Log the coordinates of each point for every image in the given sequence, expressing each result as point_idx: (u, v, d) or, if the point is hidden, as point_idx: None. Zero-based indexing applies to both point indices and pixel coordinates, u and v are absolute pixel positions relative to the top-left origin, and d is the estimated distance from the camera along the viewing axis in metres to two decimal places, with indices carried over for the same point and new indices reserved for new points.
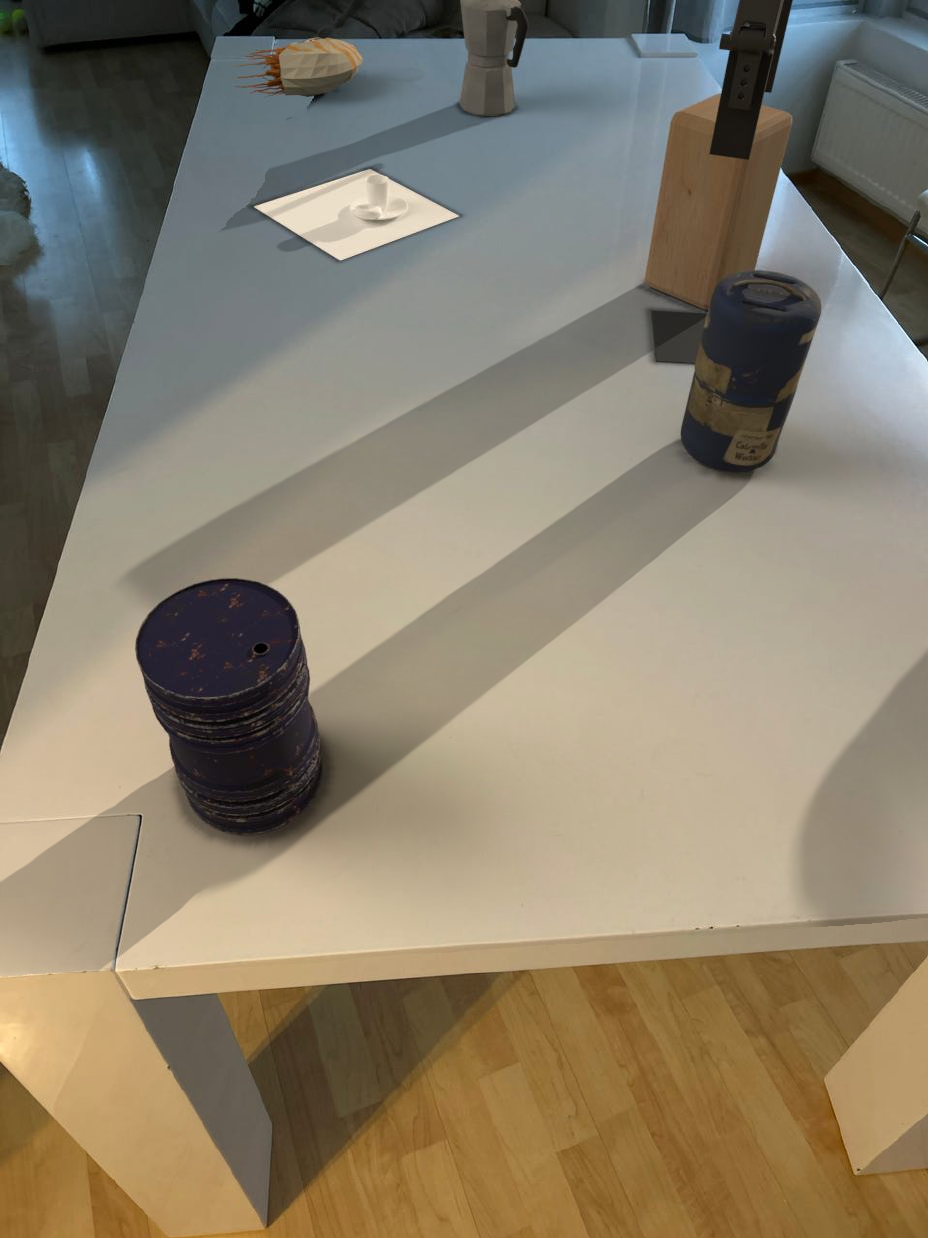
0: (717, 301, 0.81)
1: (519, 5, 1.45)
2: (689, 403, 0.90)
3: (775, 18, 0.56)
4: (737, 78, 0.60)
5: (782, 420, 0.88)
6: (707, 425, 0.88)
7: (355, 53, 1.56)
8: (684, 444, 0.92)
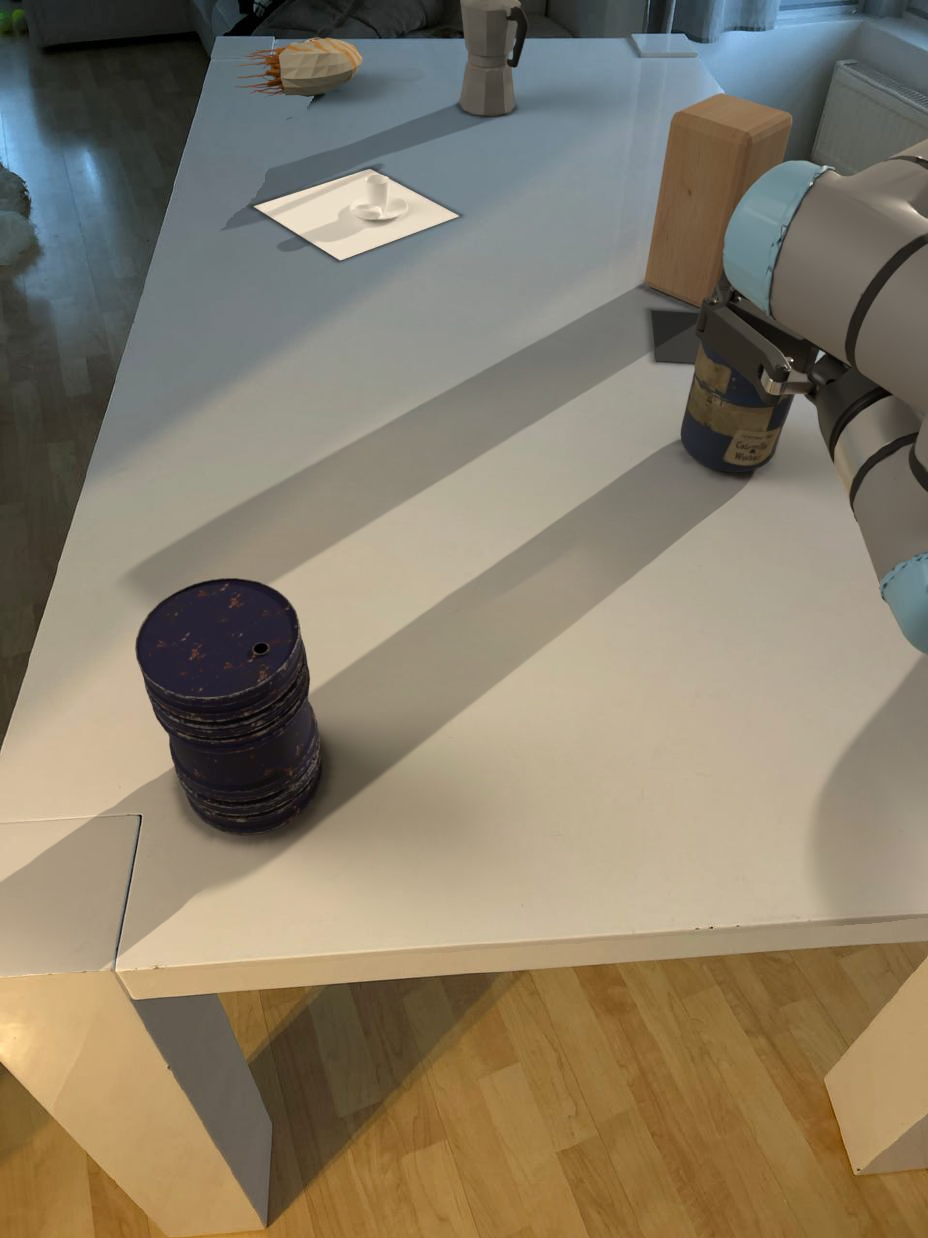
0: None
1: (519, 5, 1.45)
2: (689, 403, 0.90)
3: None
4: None
5: (782, 420, 0.88)
6: (707, 425, 0.88)
7: (355, 53, 1.56)
8: (684, 444, 0.92)
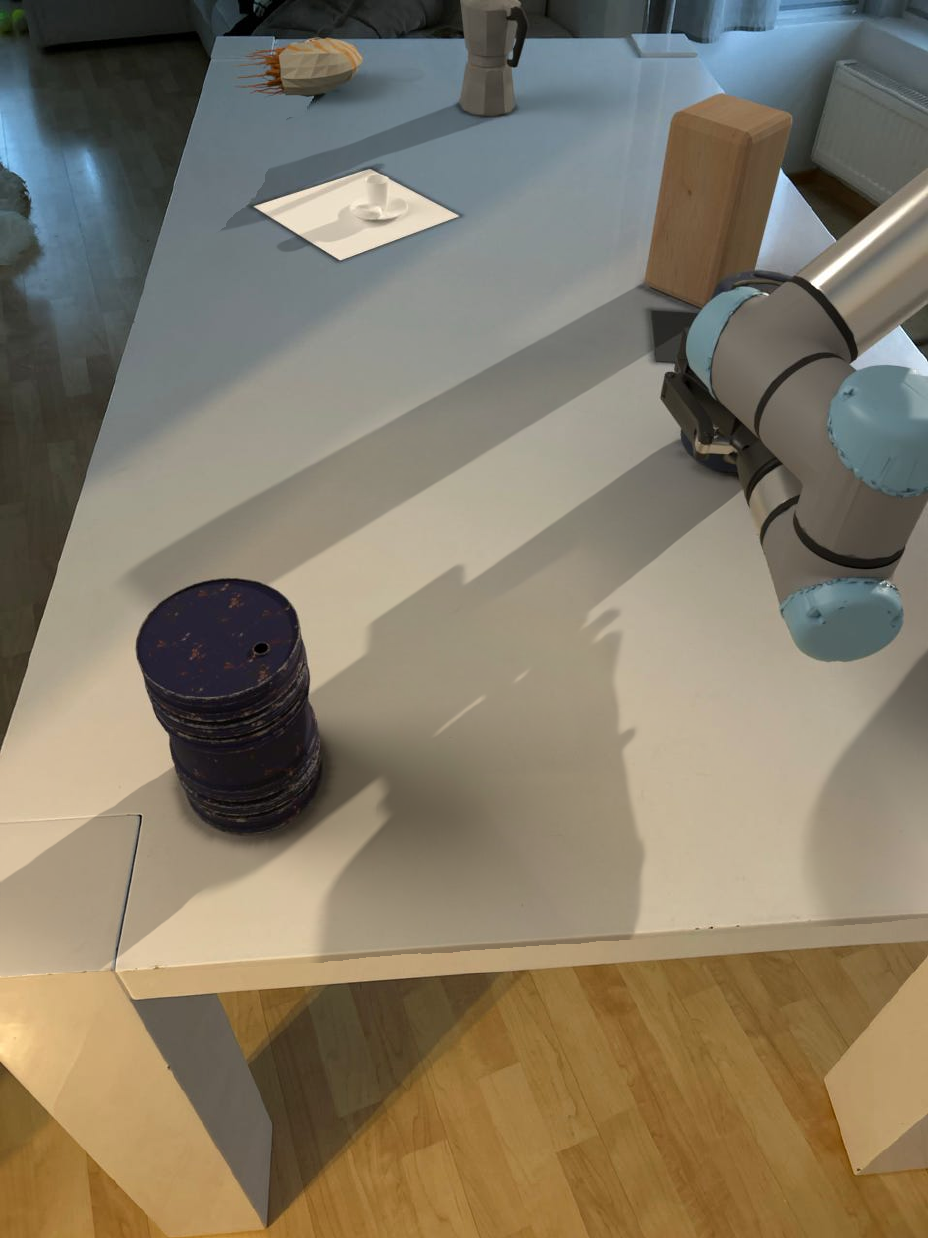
0: None
1: (519, 5, 1.45)
2: None
3: None
4: None
5: None
6: None
7: (355, 53, 1.56)
8: (684, 444, 0.92)
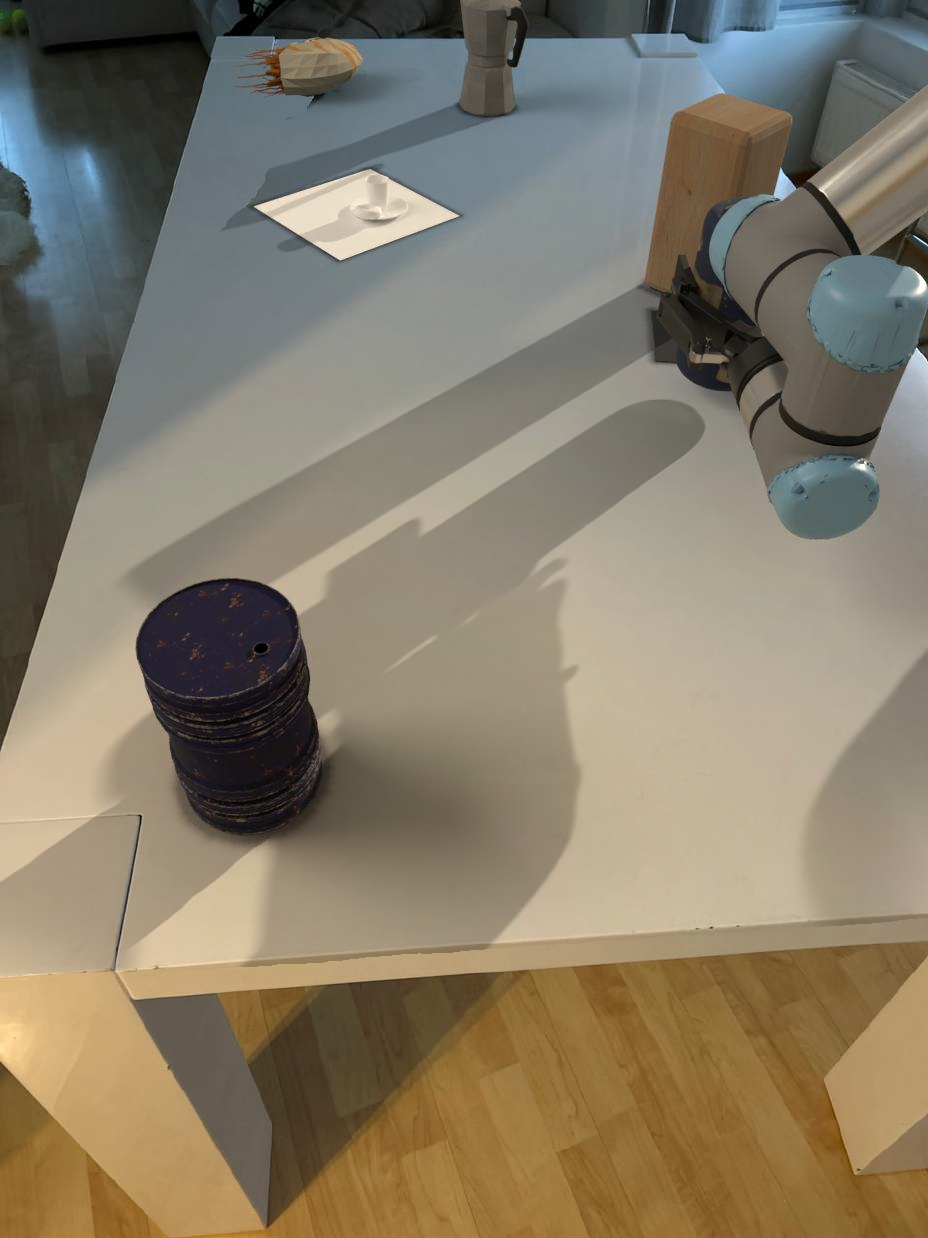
0: (709, 223, 0.87)
1: (519, 5, 1.45)
2: None
3: None
4: None
5: None
6: None
7: (355, 53, 1.56)
8: (679, 366, 0.98)
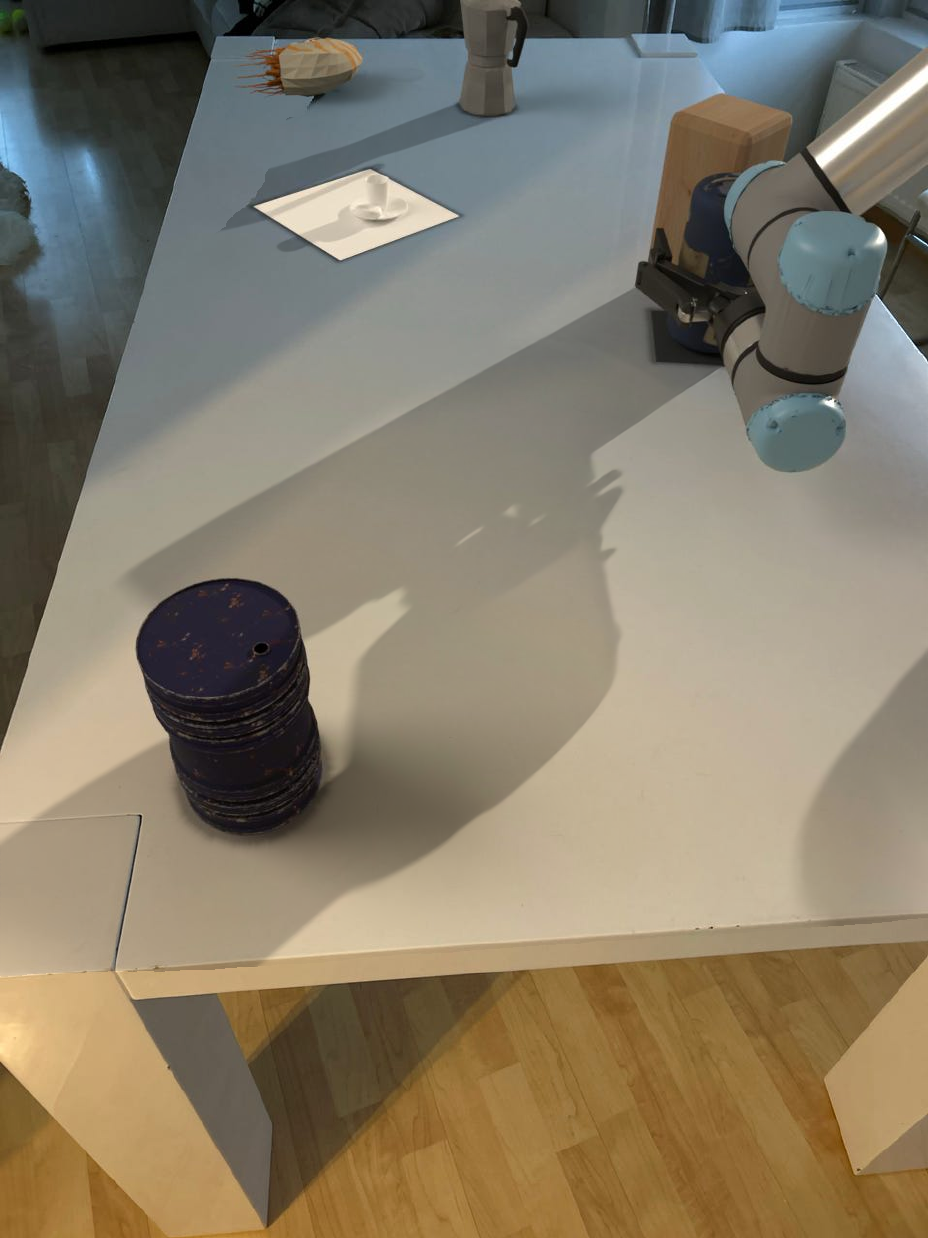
0: (697, 196, 0.96)
1: (519, 5, 1.45)
2: None
3: None
4: None
5: None
6: None
7: (355, 53, 1.56)
8: (670, 330, 1.06)
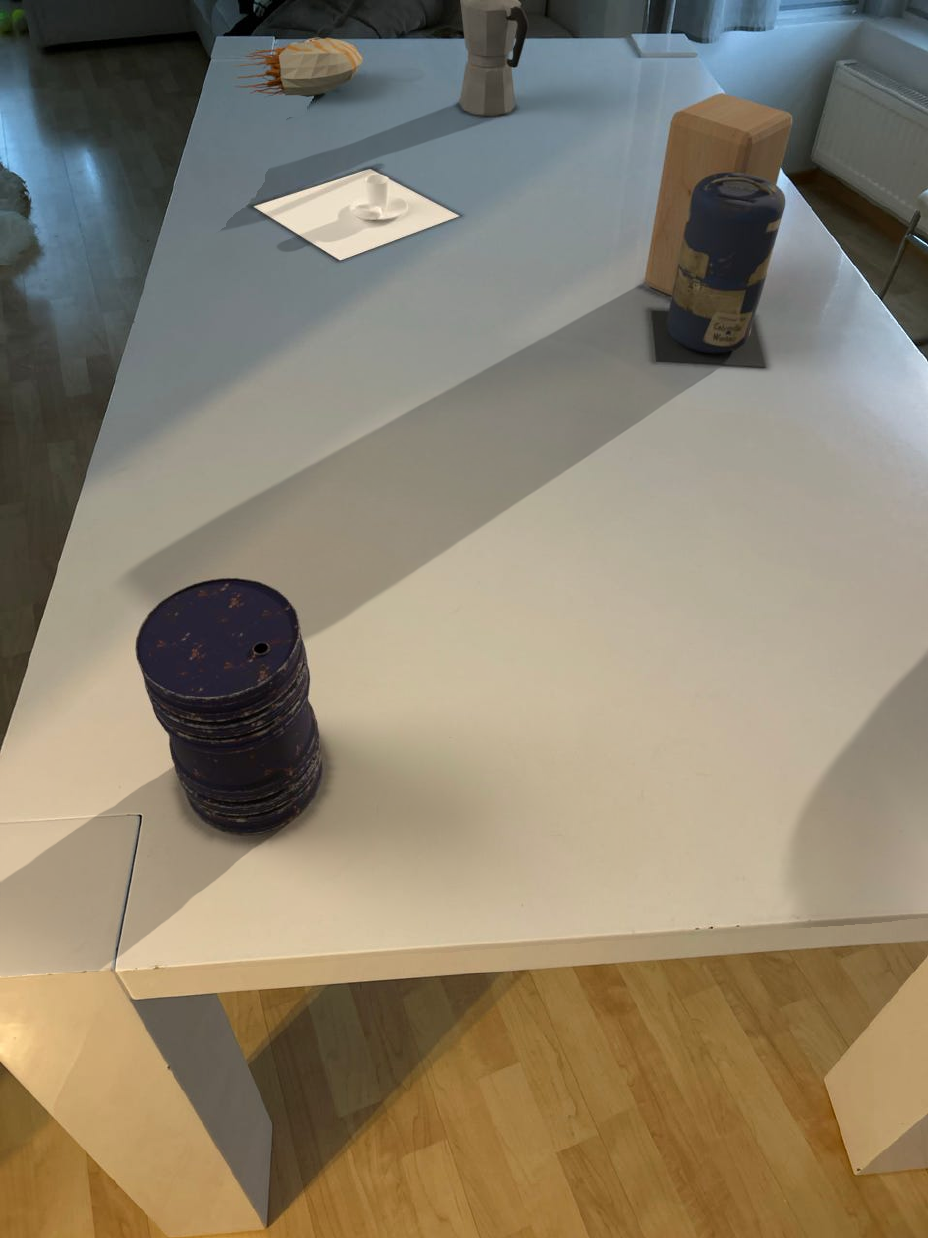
0: (697, 196, 0.96)
1: (519, 5, 1.45)
2: (674, 292, 1.04)
3: None
4: None
5: (753, 305, 1.02)
6: (689, 309, 1.02)
7: (355, 53, 1.56)
8: (670, 330, 1.06)
